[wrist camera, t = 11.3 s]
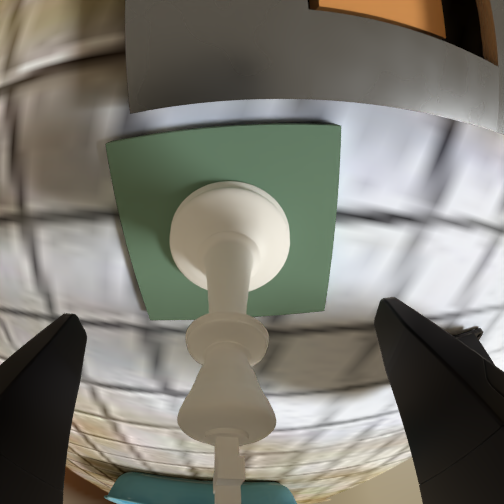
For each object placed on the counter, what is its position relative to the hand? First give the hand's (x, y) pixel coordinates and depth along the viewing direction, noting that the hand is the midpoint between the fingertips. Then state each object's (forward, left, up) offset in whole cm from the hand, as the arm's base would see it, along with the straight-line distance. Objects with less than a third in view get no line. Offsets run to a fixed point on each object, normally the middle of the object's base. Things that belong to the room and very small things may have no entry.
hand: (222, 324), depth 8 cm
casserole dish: (-51, +10, -6) cm, 53 cm away
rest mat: (0, 0, -6) cm, 6 cm away
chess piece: (0, 0, -5) cm, 5 cm away
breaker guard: (+11, -6, -6) cm, 14 cm away
